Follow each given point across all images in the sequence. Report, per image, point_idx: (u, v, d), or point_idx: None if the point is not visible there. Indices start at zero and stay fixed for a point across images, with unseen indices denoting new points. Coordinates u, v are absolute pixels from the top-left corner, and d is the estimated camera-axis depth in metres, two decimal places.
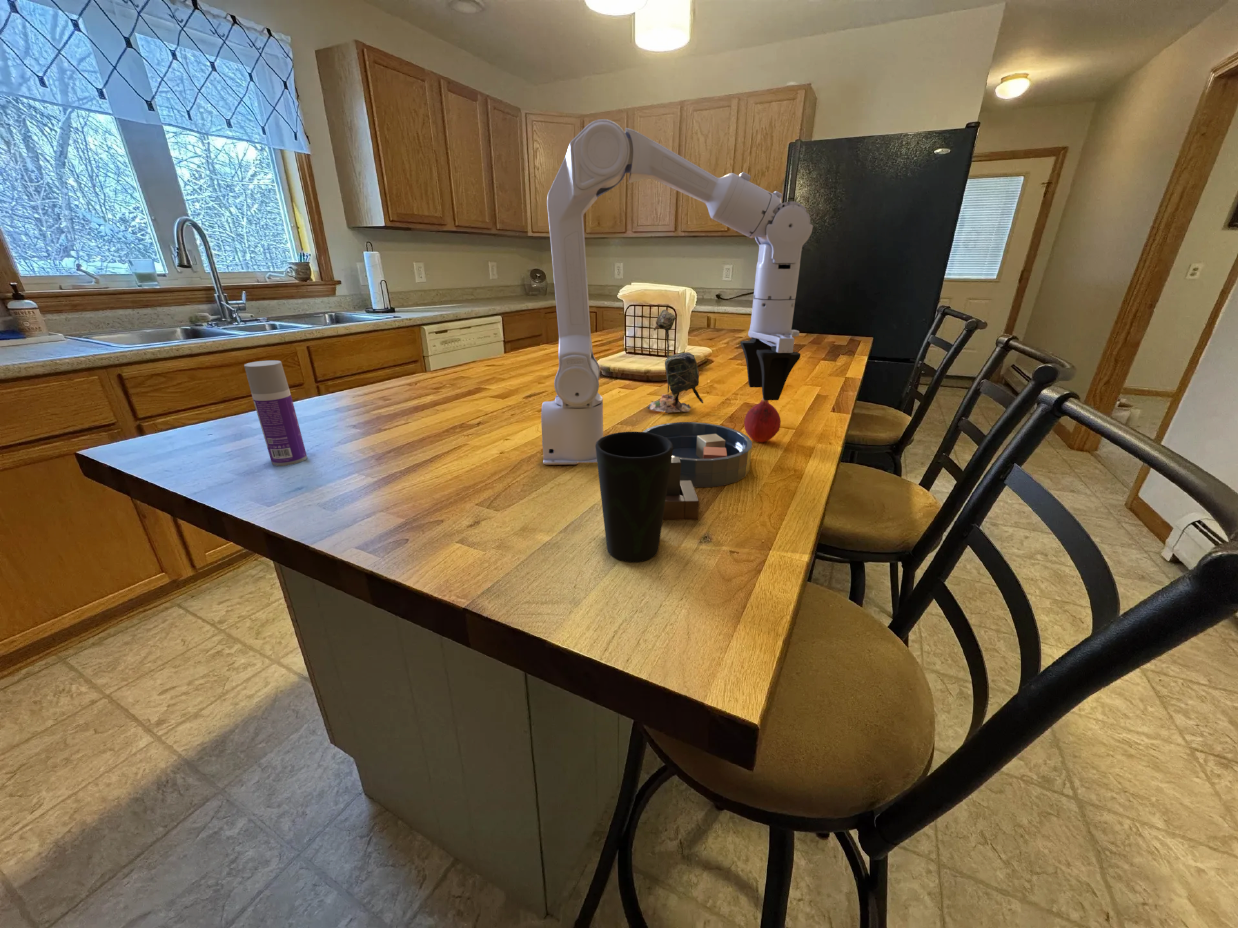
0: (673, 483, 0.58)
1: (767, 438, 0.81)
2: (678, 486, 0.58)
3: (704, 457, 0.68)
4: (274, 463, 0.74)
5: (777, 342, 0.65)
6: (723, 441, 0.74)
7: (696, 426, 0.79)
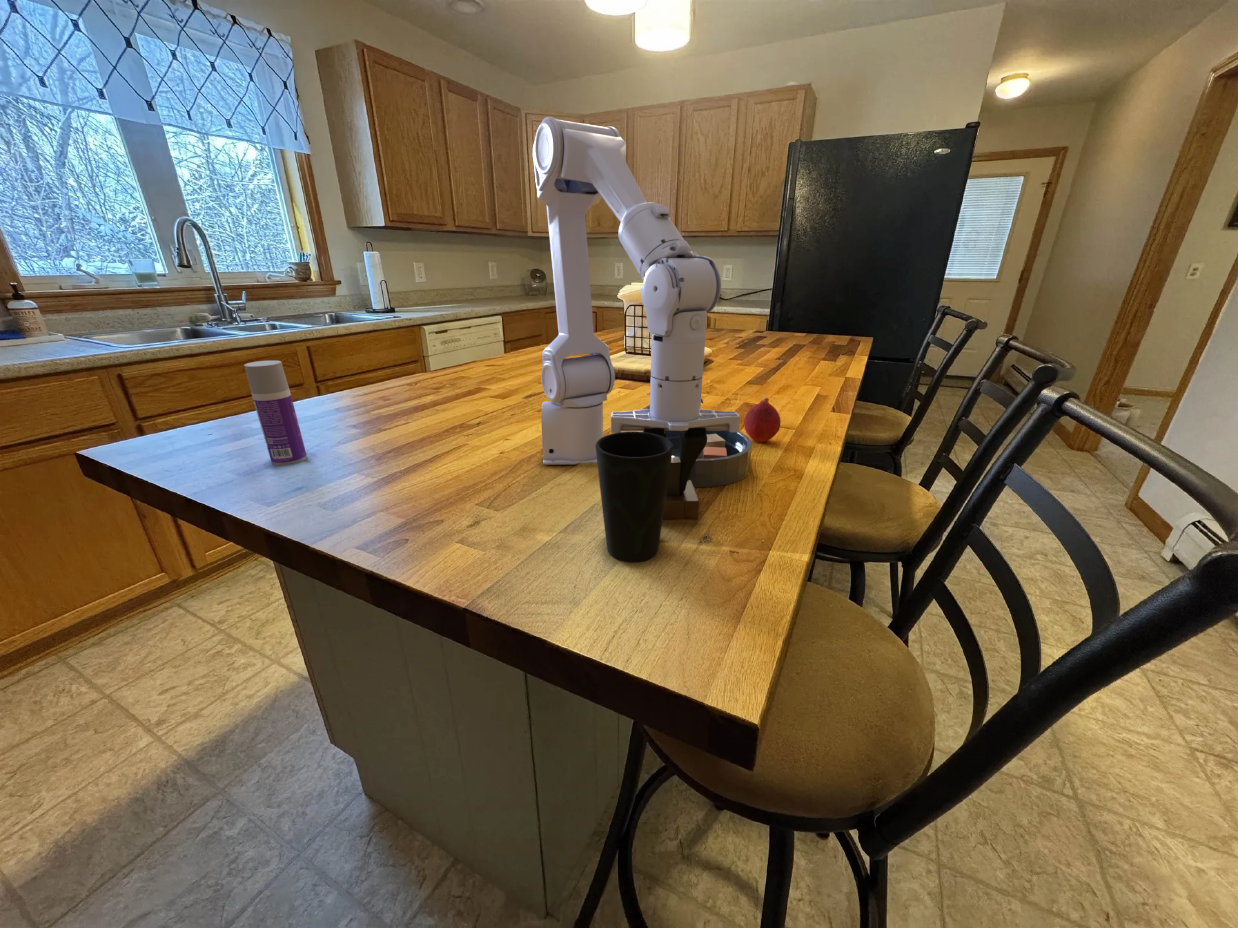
0: (673, 483, 0.58)
1: (767, 438, 0.81)
2: (678, 486, 0.58)
3: (704, 457, 0.68)
4: (274, 463, 0.74)
5: None
6: (723, 441, 0.74)
7: None
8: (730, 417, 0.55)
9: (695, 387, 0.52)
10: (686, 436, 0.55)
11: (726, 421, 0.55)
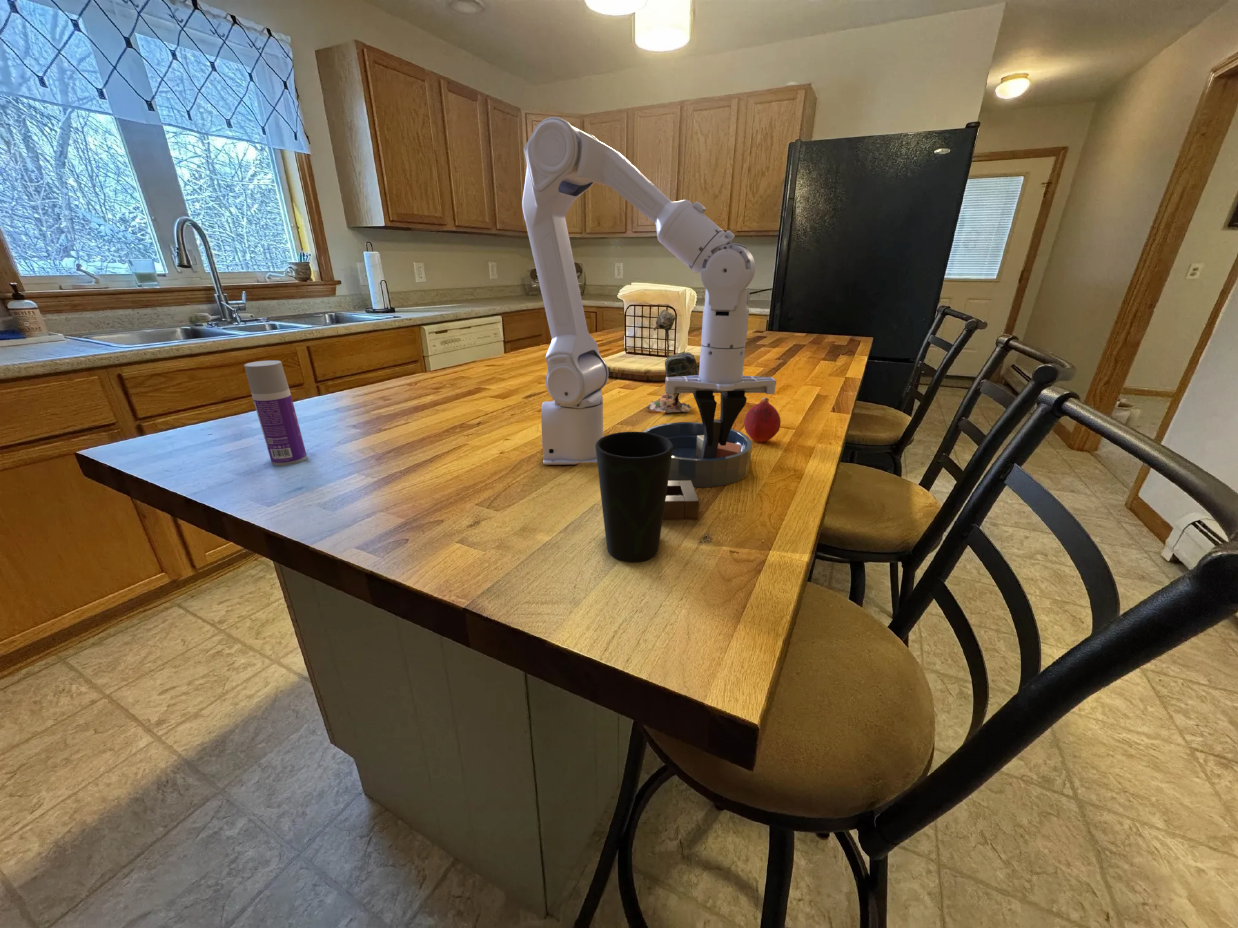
0: (713, 440, 0.69)
1: (767, 438, 0.81)
2: (717, 443, 0.69)
3: (717, 450, 0.70)
4: (274, 463, 0.74)
5: None
6: None
7: (696, 426, 0.79)
8: (768, 381, 0.65)
9: (740, 354, 0.62)
10: (728, 397, 0.65)
11: (764, 384, 0.65)
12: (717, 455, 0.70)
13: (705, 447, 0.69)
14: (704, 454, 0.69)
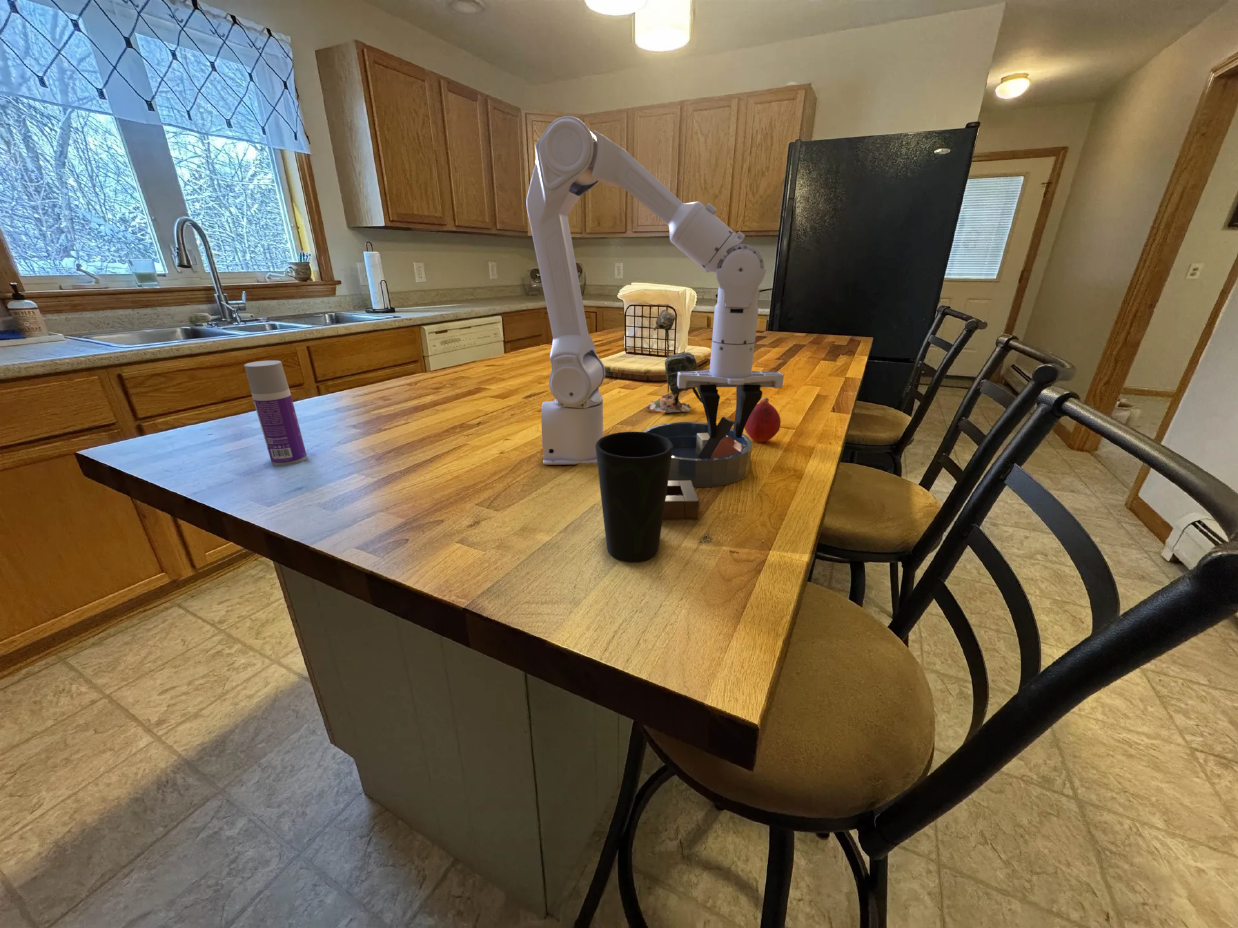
0: (718, 436, 0.71)
1: (767, 438, 0.81)
2: (720, 440, 0.71)
3: (720, 443, 0.70)
4: (274, 463, 0.74)
5: None
6: None
7: (696, 426, 0.79)
8: (776, 375, 0.68)
9: (749, 350, 0.65)
10: (745, 391, 0.68)
11: (772, 379, 0.68)
12: (719, 447, 0.70)
13: (709, 439, 0.72)
14: (705, 445, 0.72)
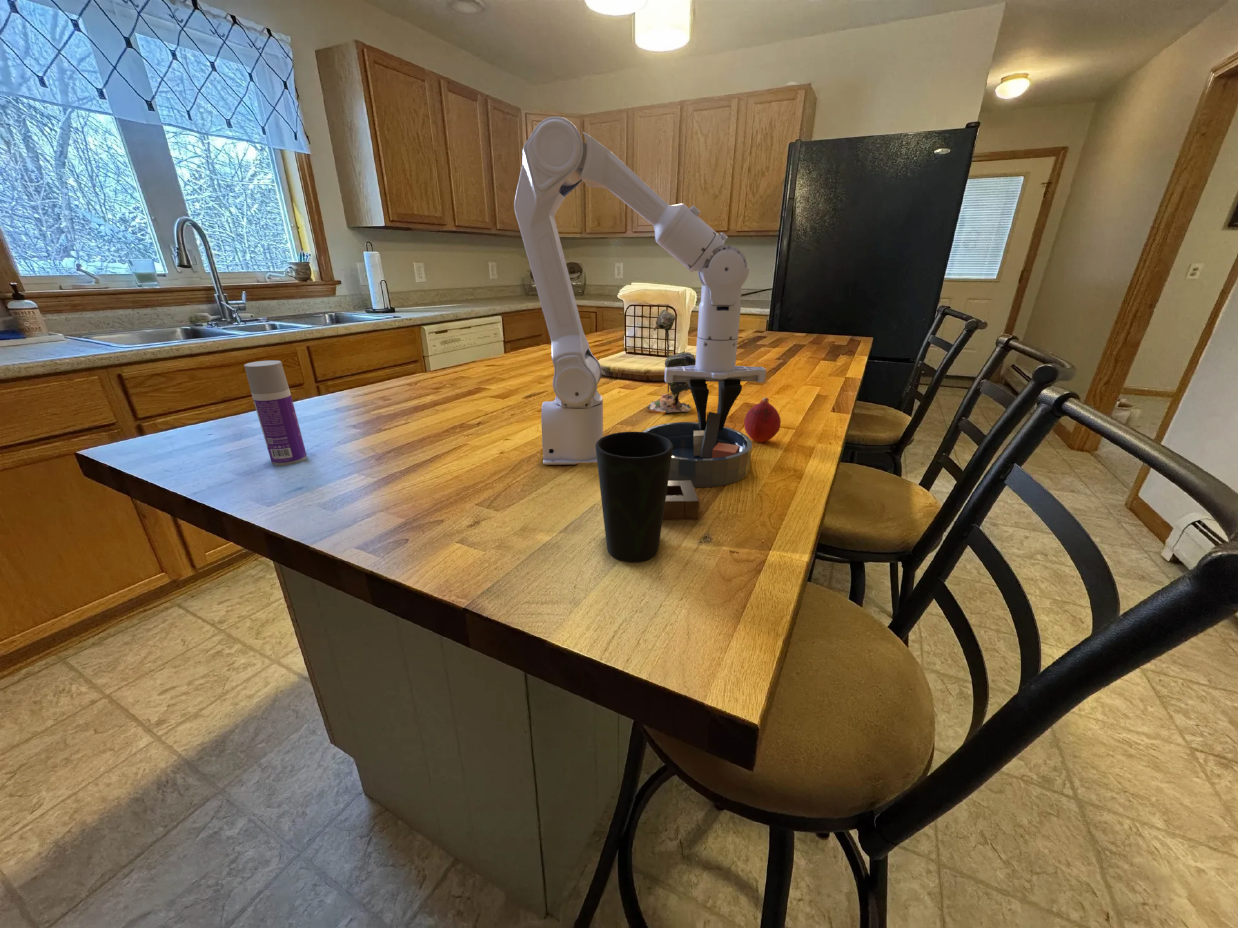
0: (712, 430, 0.73)
1: (767, 438, 0.81)
2: (716, 433, 0.73)
3: (713, 452, 0.70)
4: (274, 463, 0.74)
5: None
6: None
7: (696, 426, 0.79)
8: (758, 370, 0.71)
9: (732, 345, 0.68)
10: (725, 385, 0.71)
11: (755, 373, 0.71)
12: (714, 456, 0.70)
13: (705, 436, 0.73)
14: (704, 442, 0.72)
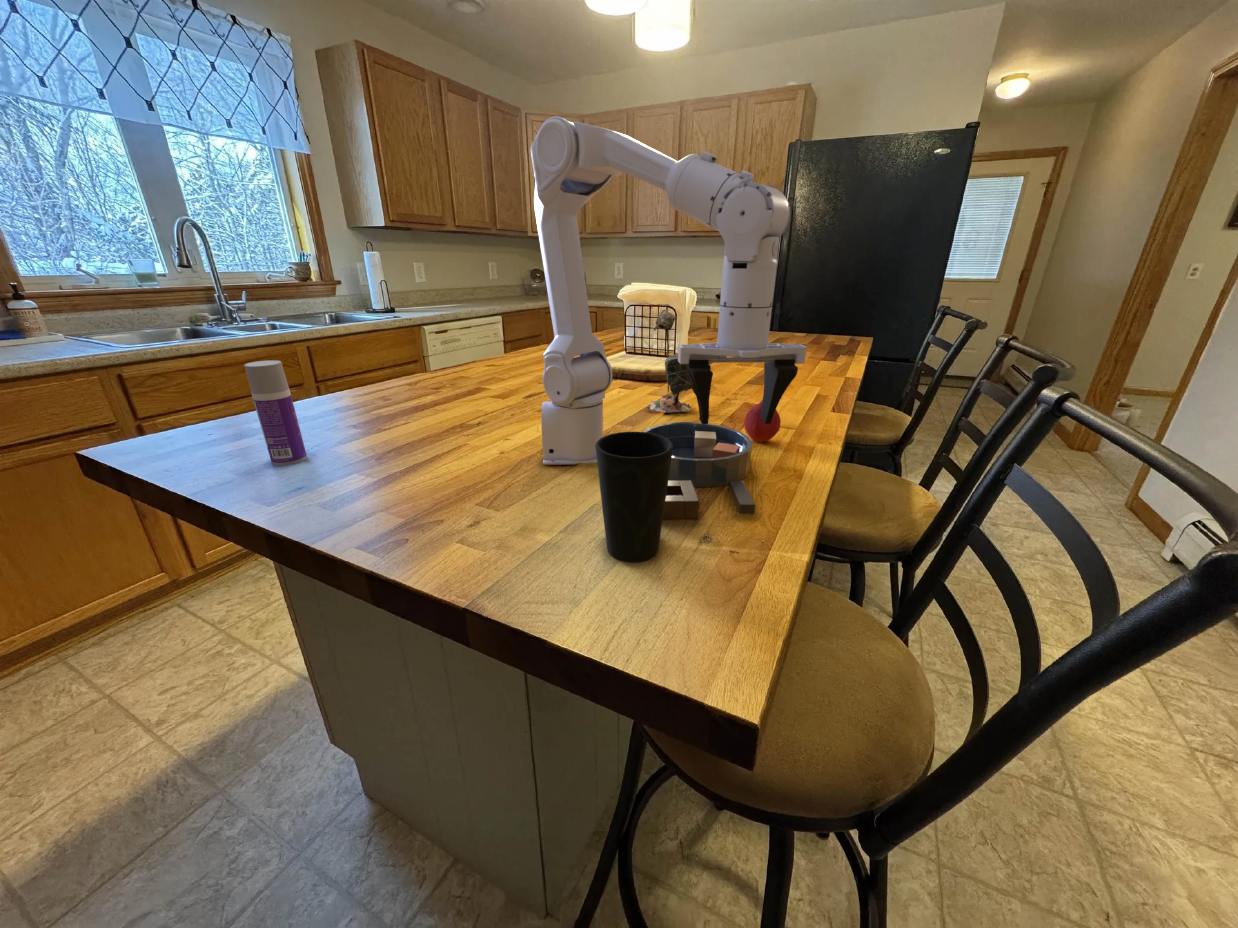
0: (741, 489, 0.63)
1: (767, 438, 0.81)
2: (746, 490, 0.62)
3: (713, 452, 0.70)
4: (274, 463, 0.74)
5: None
6: (714, 439, 0.74)
7: (696, 426, 0.79)
8: (797, 348, 0.56)
9: (766, 315, 0.54)
10: (777, 366, 0.56)
11: (793, 352, 0.56)
12: (714, 456, 0.70)
13: (735, 493, 0.62)
14: (737, 496, 0.61)
